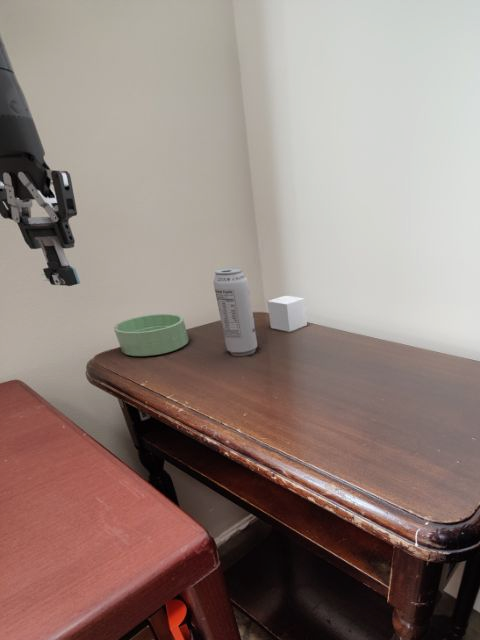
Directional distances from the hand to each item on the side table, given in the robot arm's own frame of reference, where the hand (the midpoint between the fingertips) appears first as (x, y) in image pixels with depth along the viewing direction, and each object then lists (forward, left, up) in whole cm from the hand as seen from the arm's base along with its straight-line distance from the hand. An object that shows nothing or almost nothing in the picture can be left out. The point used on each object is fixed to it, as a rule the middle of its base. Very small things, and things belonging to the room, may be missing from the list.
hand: (52, 247), depth 65 cm
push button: (-1, 0, -6) cm, 6 cm away
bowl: (+7, +9, -20) cm, 23 cm away
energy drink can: (+27, +7, -20) cm, 35 cm away
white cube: (+32, +24, -20) cm, 45 cm away
